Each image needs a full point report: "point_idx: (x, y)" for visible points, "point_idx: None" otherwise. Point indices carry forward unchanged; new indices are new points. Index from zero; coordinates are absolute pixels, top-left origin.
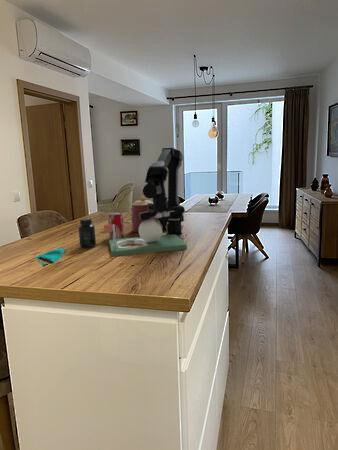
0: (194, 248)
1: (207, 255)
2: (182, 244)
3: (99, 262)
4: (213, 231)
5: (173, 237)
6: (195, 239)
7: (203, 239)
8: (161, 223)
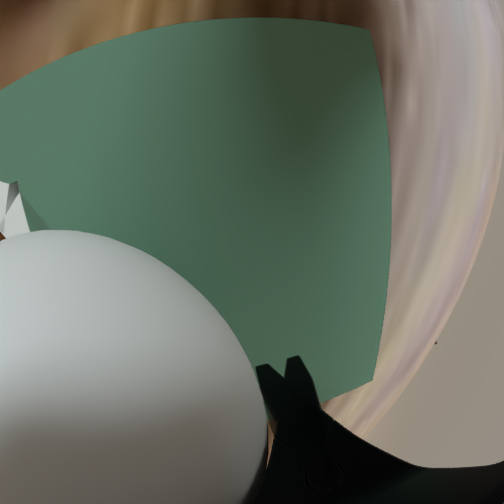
0: (394, 339)
1: (387, 409)
2: (354, 380)
3: None
4: (493, 26)
5: (349, 156)
6: (452, 133)
7: (475, 152)
8: (283, 483)
